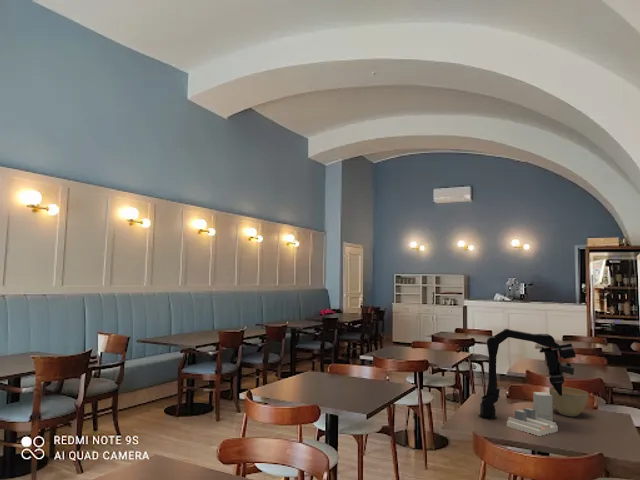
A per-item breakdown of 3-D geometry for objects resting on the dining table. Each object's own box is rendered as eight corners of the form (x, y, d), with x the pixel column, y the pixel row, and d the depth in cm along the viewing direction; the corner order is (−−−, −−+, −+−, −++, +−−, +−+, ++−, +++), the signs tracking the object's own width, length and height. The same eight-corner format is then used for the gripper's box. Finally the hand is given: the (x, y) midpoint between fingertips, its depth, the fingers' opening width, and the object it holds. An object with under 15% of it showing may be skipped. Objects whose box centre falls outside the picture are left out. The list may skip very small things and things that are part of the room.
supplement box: (552, 422, 231) (552, 396, 232) (536, 421, 232) (536, 394, 233) (548, 418, 238) (548, 392, 239) (533, 416, 239) (533, 391, 240)
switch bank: (506, 426, 222) (506, 417, 222) (525, 421, 230) (525, 413, 231) (539, 436, 209) (539, 427, 209) (557, 431, 217) (557, 422, 217)
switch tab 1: (514, 421, 221) (514, 410, 222) (518, 420, 223) (518, 409, 224) (522, 423, 218) (522, 412, 218) (526, 422, 220) (526, 411, 220)
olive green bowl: (588, 421, 234) (588, 396, 235) (547, 415, 243) (547, 391, 244) (588, 413, 250) (588, 389, 251) (550, 407, 259) (550, 384, 260)
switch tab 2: (523, 418, 225) (523, 408, 226) (527, 417, 227) (527, 407, 227) (531, 421, 222) (531, 410, 222) (535, 420, 224) (535, 409, 224)
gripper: (571, 361, 217) (580, 396, 215) (569, 355, 234) (577, 387, 232) (545, 364, 222) (554, 398, 219) (545, 358, 239) (553, 389, 236)
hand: (560, 393), depth 227 cm, fingers open, 9 cm apart
